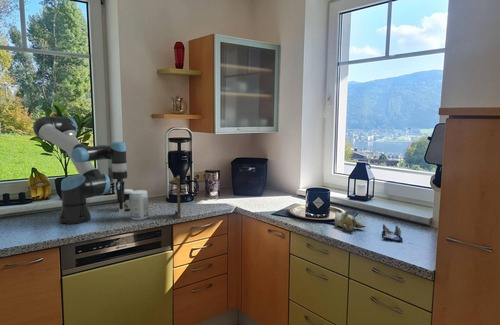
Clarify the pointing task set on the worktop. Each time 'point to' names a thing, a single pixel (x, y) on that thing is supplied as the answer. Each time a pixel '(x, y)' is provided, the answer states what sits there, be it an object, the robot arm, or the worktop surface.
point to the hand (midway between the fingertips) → (121, 214)
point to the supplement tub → (138, 204)
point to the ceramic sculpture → (346, 221)
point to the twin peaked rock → (388, 234)
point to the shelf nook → (177, 180)
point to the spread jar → (127, 199)
